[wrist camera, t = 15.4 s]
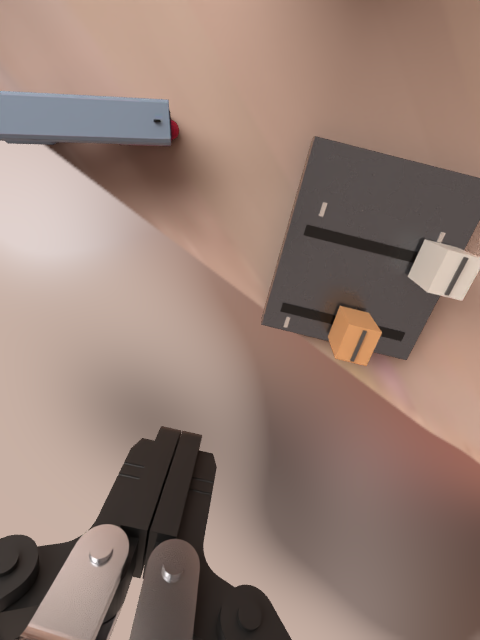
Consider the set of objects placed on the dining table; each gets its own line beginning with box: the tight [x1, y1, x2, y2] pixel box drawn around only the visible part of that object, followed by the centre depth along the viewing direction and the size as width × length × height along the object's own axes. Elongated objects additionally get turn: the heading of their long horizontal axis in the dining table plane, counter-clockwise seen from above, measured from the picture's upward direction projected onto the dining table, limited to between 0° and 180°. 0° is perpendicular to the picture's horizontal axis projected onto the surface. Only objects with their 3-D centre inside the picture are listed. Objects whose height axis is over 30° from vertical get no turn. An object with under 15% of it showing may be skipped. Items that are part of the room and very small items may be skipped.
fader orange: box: [328, 306, 382, 366], centre depth 32 cm, size 4×3×5 cm
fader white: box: [408, 239, 480, 301], centre depth 29 cm, size 4×3×5 cm
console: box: [261, 136, 480, 360], centre depth 33 cm, size 18×16×2 cm
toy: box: [0, 91, 179, 146], centre depth 27 cm, size 3×16×10 cm, turn 89°
